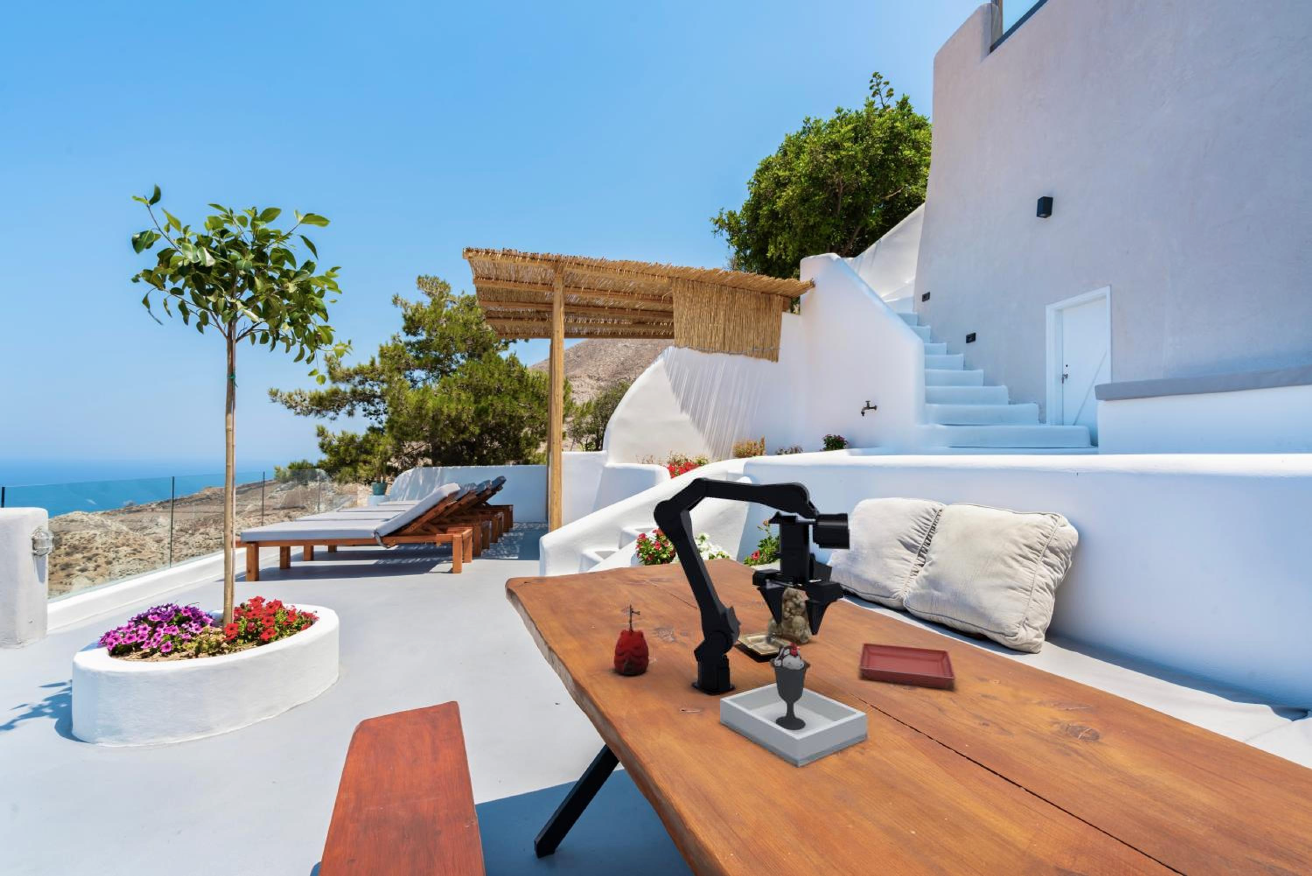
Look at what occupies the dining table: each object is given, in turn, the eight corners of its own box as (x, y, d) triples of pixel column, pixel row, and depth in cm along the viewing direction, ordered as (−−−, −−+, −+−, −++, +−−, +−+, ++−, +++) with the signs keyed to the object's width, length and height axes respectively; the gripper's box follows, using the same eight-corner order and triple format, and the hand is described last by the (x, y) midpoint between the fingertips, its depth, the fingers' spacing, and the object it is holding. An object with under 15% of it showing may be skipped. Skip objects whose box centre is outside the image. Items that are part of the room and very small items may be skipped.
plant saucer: (858, 682, 121) (858, 666, 121) (862, 655, 138) (862, 641, 138) (956, 695, 114) (955, 678, 114) (948, 665, 131) (948, 650, 131)
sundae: (806, 736, 94) (804, 641, 95) (765, 727, 97) (764, 636, 98) (815, 720, 100) (813, 631, 101) (776, 712, 103) (775, 626, 104)
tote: (720, 722, 102) (720, 699, 102) (785, 701, 110) (785, 680, 111) (798, 767, 87) (798, 739, 87) (867, 739, 95) (866, 714, 96)
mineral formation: (779, 631, 157) (778, 574, 158) (823, 642, 147) (822, 581, 148) (760, 637, 152) (760, 578, 152) (805, 649, 142) (804, 586, 142)
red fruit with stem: (650, 666, 130) (650, 598, 130) (646, 678, 123) (646, 606, 123) (616, 665, 130) (616, 597, 131) (610, 677, 123) (610, 605, 124)
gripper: (862, 549, 110) (864, 634, 109) (789, 539, 125) (790, 613, 125) (821, 555, 104) (822, 644, 103) (749, 543, 119) (751, 621, 119)
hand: (796, 629), depth 112 cm, fingers open, 9 cm apart
